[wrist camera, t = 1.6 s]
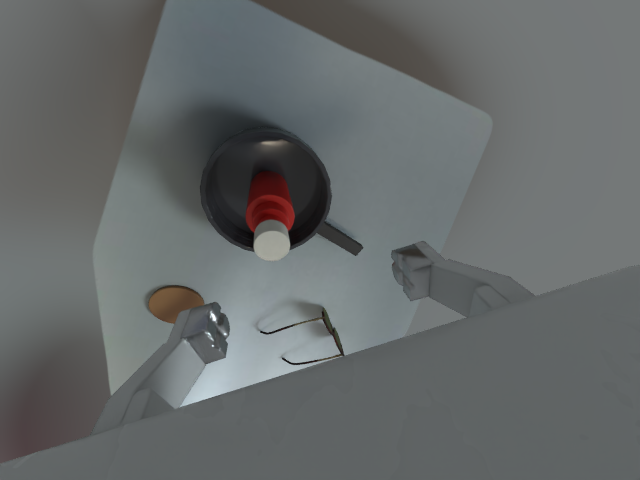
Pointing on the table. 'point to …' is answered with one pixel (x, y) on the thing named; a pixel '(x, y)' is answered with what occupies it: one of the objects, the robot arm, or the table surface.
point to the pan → (251, 159)
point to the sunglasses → (329, 327)
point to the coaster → (173, 302)
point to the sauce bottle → (270, 215)
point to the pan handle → (340, 238)
